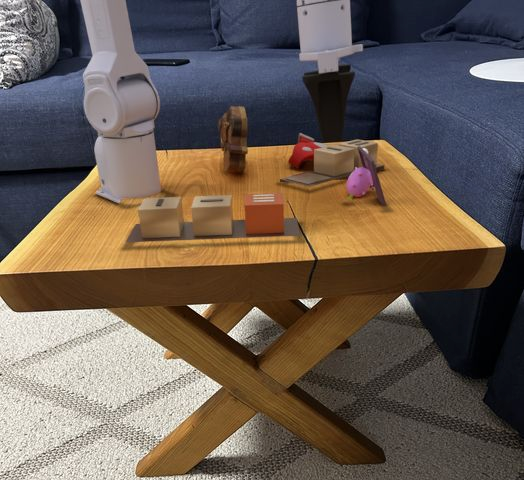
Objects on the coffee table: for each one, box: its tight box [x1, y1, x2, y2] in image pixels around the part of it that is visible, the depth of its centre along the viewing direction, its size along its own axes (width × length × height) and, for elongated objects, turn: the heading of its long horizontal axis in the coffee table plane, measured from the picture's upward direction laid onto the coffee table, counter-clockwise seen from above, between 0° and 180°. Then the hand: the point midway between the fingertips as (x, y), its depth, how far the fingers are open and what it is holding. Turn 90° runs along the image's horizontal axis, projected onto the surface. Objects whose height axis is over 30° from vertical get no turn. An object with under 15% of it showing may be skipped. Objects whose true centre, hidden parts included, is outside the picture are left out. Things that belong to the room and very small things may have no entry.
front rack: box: [125, 194, 301, 243], centre depth 65 cm, size 20×6×4 cm, turn 91°
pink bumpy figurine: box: [345, 146, 387, 207], centre depth 74 cm, size 7×5×9 cm
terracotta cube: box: [243, 192, 285, 234], centre depth 65 cm, size 4×4×4 cm
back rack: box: [279, 139, 385, 188], centre depth 86 cm, size 17×6×4 cm, turn 131°
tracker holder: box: [288, 132, 329, 169], centre depth 95 cm, size 12×4×10 cm
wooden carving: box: [217, 105, 249, 174], centre depth 91 cm, size 16×5×10 cm, turn 13°
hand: (331, 135), depth 67 cm, fingers open, 7 cm apart
